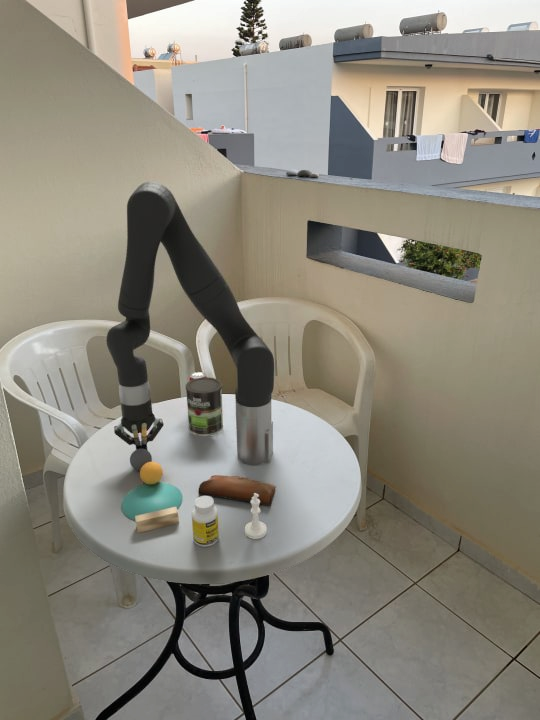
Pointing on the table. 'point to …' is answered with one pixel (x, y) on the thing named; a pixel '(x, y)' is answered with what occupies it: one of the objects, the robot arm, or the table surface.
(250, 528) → the chess piece
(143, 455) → the gray ball
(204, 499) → the supplement bottle
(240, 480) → the sunglasses case
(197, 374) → the beverage can
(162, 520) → the strip
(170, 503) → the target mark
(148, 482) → the object ball
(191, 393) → the coffee can
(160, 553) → the table surface
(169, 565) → the table surface
